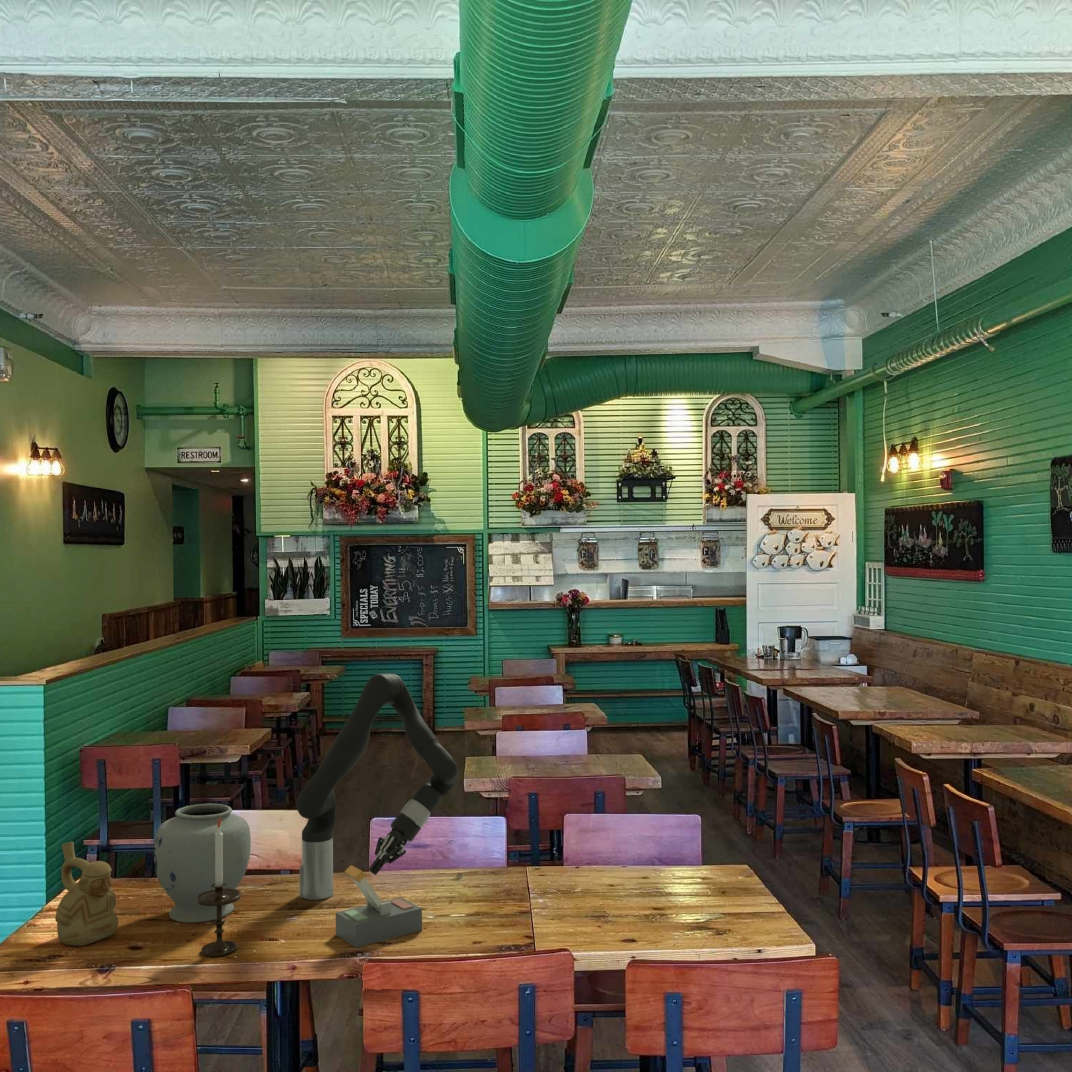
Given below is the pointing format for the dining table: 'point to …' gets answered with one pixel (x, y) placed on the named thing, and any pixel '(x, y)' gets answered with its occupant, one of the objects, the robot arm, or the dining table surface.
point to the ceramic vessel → (85, 901)
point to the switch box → (378, 922)
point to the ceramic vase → (199, 858)
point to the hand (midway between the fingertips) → (371, 872)
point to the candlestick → (219, 903)
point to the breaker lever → (364, 886)
